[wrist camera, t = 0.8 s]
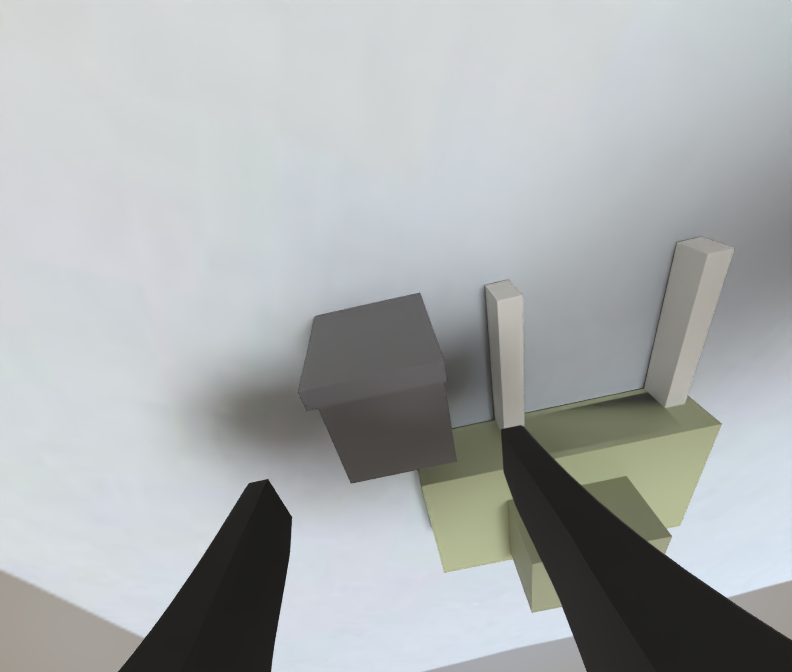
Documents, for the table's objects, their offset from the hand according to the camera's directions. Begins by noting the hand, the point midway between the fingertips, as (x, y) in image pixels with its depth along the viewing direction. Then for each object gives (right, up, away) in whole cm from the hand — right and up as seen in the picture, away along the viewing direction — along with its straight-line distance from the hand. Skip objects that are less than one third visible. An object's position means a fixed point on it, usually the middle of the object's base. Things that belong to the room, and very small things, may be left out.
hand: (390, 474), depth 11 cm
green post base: (+8, 0, +8) cm, 11 cm away
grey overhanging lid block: (0, +3, +6) cm, 6 cm away
